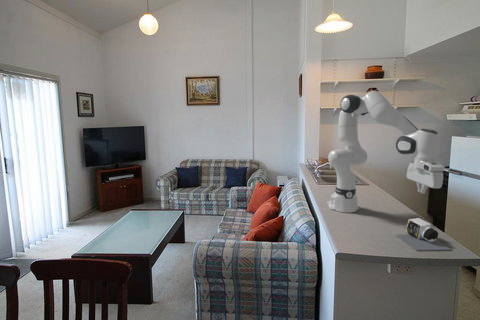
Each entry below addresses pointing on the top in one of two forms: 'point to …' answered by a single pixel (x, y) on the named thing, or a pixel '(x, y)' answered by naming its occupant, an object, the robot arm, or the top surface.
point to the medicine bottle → (421, 230)
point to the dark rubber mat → (422, 243)
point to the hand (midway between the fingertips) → (421, 192)
